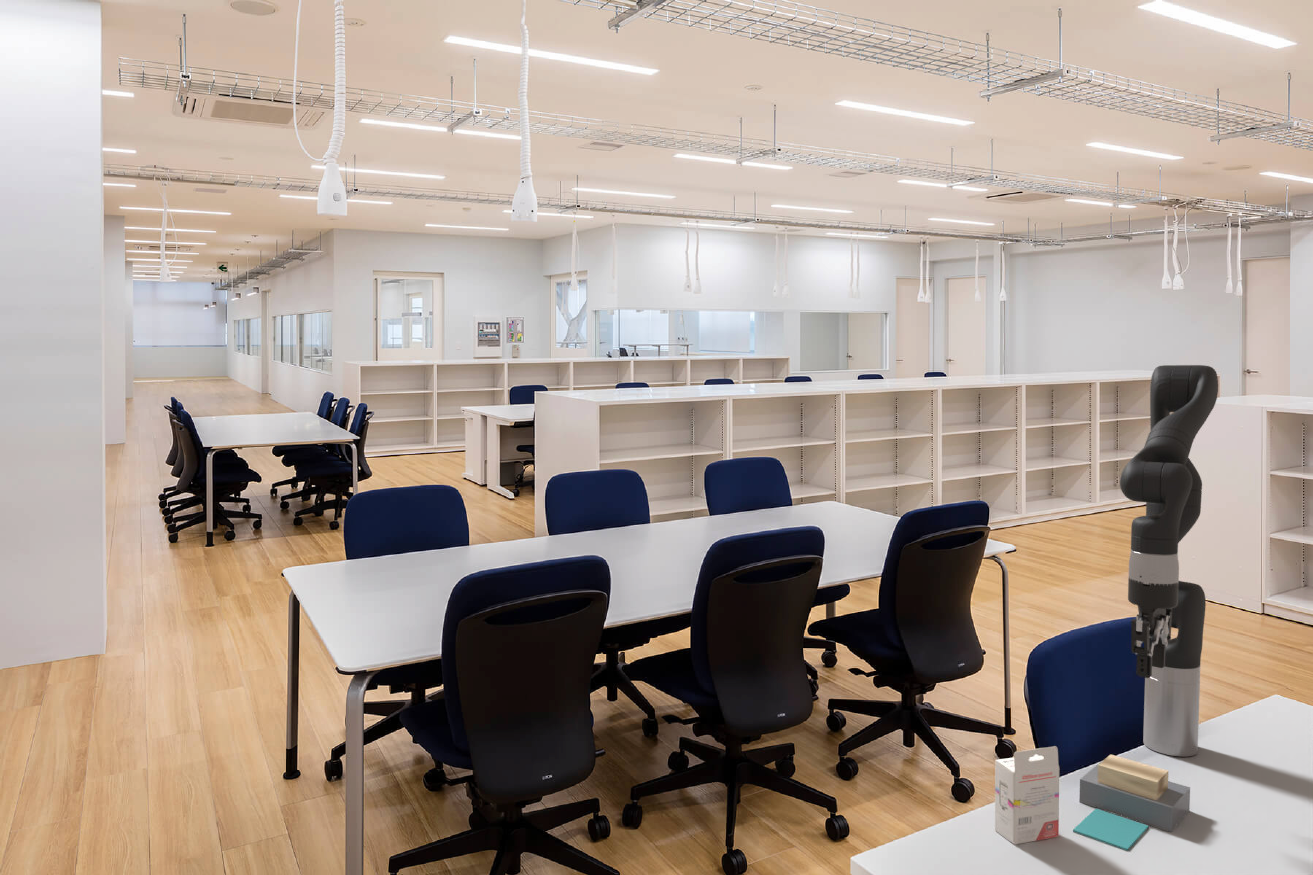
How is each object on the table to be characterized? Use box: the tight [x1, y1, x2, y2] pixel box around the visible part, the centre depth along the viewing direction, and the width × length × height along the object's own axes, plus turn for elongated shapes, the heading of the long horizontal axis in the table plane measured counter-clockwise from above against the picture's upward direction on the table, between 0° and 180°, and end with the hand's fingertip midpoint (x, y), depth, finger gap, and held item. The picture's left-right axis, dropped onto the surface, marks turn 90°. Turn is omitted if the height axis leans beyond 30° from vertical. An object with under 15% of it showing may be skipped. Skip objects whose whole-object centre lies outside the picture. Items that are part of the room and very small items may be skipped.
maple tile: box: [1097, 754, 1169, 800], centre depth 144 cm, size 6×9×3 cm, turn 44°
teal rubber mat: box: [1072, 808, 1149, 852], centre depth 138 cm, size 10×8×1 cm
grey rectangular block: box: [1079, 761, 1191, 833], centre depth 145 cm, size 10×14×4 cm
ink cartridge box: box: [994, 745, 1060, 845], centre depth 136 cm, size 9×5×15 cm, turn 105°
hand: (1150, 671), depth 149 cm, fingers open, 6 cm apart
